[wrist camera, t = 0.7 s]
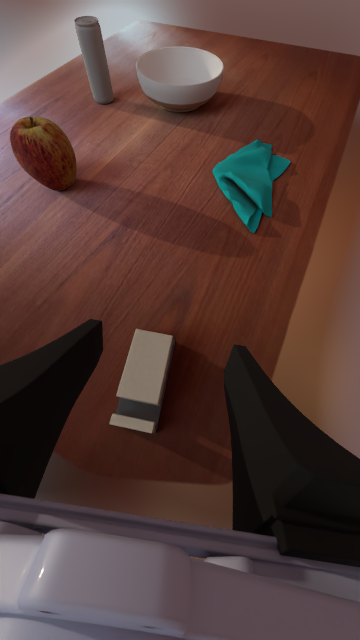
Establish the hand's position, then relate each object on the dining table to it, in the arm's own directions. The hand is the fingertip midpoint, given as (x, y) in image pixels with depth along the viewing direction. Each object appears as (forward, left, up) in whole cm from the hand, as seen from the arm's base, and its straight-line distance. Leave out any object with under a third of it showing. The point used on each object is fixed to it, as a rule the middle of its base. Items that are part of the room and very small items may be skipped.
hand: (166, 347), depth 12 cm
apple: (+32, +28, -17) cm, 46 cm away
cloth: (+41, -6, -17) cm, 45 cm away
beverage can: (+63, +30, -17) cm, 72 cm away
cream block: (0, +3, -17) cm, 17 cm away
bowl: (+67, +12, -17) cm, 70 cm away
